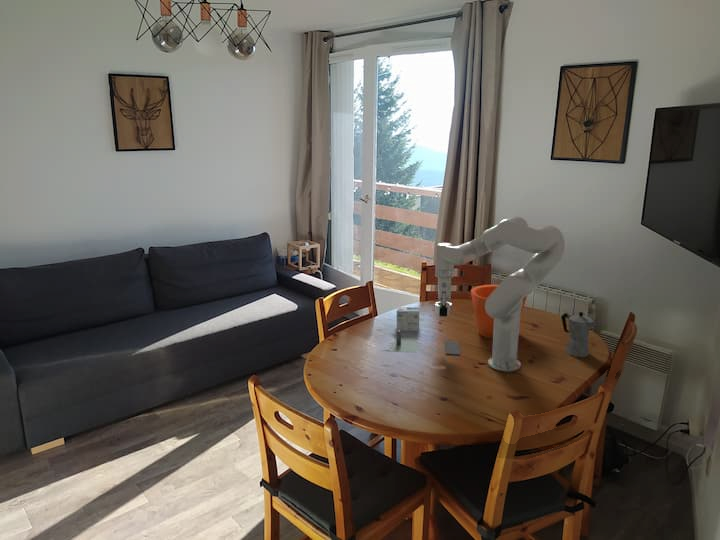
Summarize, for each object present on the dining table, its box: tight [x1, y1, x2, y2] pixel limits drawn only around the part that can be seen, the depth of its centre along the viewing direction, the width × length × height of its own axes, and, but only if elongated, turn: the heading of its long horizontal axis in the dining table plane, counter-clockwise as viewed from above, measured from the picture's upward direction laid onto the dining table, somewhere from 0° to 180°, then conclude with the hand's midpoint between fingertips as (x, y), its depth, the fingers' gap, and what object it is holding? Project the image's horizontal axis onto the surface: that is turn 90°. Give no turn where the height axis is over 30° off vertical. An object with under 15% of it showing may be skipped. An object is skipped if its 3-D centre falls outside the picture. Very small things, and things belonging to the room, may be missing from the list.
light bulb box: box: [396, 306, 420, 332], centre depth 243 cm, size 11×7×11 cm, turn 84°
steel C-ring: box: [434, 301, 453, 318], centre depth 219 cm, size 7×7×4 cm
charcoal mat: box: [444, 340, 461, 356], centre depth 223 cm, size 14×14×1 cm
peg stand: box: [388, 330, 418, 353], centre depth 225 cm, size 16×16×7 cm
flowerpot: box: [470, 284, 528, 340], centre depth 236 cm, size 25×25×20 cm
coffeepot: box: [561, 311, 596, 358], centre depth 214 cm, size 15×9×18 cm, turn 33°
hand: (443, 312), depth 219 cm, fingers closed on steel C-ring, 7 cm apart
